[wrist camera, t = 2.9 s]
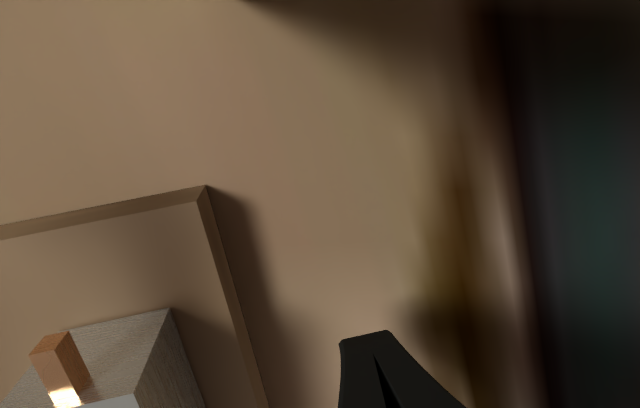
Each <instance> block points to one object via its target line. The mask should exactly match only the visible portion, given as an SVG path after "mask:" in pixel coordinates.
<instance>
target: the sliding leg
mask: <svg viewBox="0 0 640 408" xmlns="http://www.w3.org/2000/svg"><path fill="white" fill-rule="evenodd" d="M28 356H29V358H30V360H31V362H32V365H31V366H30V367H29V369H28V370H27V371H26V372H25V374H24V375H23V376H22V377H21V379H20V380H19V381H18V382H17V383H16V385H15V386H14V387H13V388H12V390H11V391H10V392H9V393H8V395H7V396H6V397H5V398H4V400H3V401H2V402H1V403H0V408H206V407H205V404H204V402H203V399H202V396H201V393H200V391H199V388H198V385H197V382H196V380H195V377H194V374H193V371H192V369H191V366H190V363H189V360H188V358H187V355H186V352H185V349H184V347H183V344H182V341H181V338H180V335H179V333H178V330H177V327H176V324H175V322H174V319H173V316H172V313H171V311H170V308H166V309H161V310H157V311H152V312H148V313H143V314H138V315H134V316H129V317H124V318H120V319H115V320H110V321H106V322H101V323H96V324H92V325H87V326H83V327H78V328H73V329H69V330H64V331H59V332H58V333H55V334H51V335H46V336H44V337H43V338H42V340H41V341H40V342H39V343H38V344H37V345H36V347H35V348H34V349H33V350H32V351H31V353H30V354H29V355H28Z"/></svg>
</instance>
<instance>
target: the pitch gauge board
mask: <svg viewBox="0 0 640 408" xmlns="http://www.w3.org/2000/svg"><path fill="white" fill-rule="evenodd" d="M166 308H170V311H171V313H172V316H173V319H174V322H175V324H176V327H177V330H178V333H179V335H180V338H181V341H182V344H183V347H184V349H185V352H186V355H187V358H188V360H189V363H190V366H191V369H192V371H193V374H194V377H195V380H196V382H197V385H198V388H199V391H200V393H201V396H202V399H203V402H204V404H205V407H206V408H269V405H268V401H267V398H266V394H265V391H264V387H263V384H262V380H261V377H260V373H259V370H258V366H257V363H256V360H255V356H254V353H253V349H252V346H251V342H250V339H249V335H248V332H247V328H246V325H245V321H244V318H243V314H242V311H241V307H240V304H239V300H238V297H237V293H236V290H235V286H234V283H233V279H232V276H231V272H230V269H229V266H228V262H227V259H226V255H225V252H224V248H223V245H222V241H221V238H220V234H219V231H218V227H217V224H216V220H215V217H214V213H213V210H212V206H211V203H210V199H209V196H208V192H207V189H206V185H202V186H197V187H192V188H187V189H182V190H177V191H172V192H167V193H162V194H157V195H152V196H147V197H142V198H137V199H132V200H127V201H121V202H116V203H111V204H106V205H101V206H96V207H91V208H86V209H81V210H76V211H71V212H66V213H61V214H56V215H51V216H46V217H41V218H36V219H31V220H26V221H21V222H15V223H10V224H5V225H0V403H1V402H2V401H3V400H4V398H5V397H6V396H7V395H8V393H9V392H10V391H11V390H12V388H13V387H14V386H15V385H16V383H17V382H18V381H19V380H20V379H21V377H22V376H23V375H24V374H25V372H26V371H27V370H28V369H29V367H30V366H31V365H32V362H31V360H30V358H29V356H28V355H29V354H30V353H31V351H32V350H33V349H34V348H35V347H36V345H37V344H38V343H39V342H40V341H41V340H42V338H43V337H44V336H46V335H51V334H55V333H58V332H59V331H64V330H69V329H73V328H78V327H83V326H87V325H92V324H96V323H101V322H106V321H110V320H115V319H120V318H124V317H129V316H134V315H138V314H143V313H148V312H152V311H157V310H161V309H166Z"/></svg>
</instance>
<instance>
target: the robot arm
mask: <svg viewBox="0 0 640 408" xmlns="http://www.w3.org/2000/svg"><path fill="white" fill-rule="evenodd" d="M339 348H340V355H341V381H340V391H339V401H338V408H466V407H465V406H464V405H463V404H461V403H460V402H459V401H458V400H457V399H456V398H454V397H453V396H452V395H451V394H450V393H449V392H448V391H447V390H446V389H444V388H443V387H442V386H441V385H440V384H439V383H438V382H437V381H436V380H435V379H434V378H433V377H432V376H431V375H430V374H429V373H428V372H427V371H426V370H425V369H424V368H423V367H422V366H421V365H420V364H419V363H418V362H417V361H416V360H415V359H414V358H413V357H412V356H411V355H410V354H409V353H408V352H407V351H406V350H405V348H404V347H403V346H402V345H401V344H400V343H399V342H398V340H397V339H396V338H395V337H394V336H393V334H392V333H391V332H390V331H388V330H383V331H378V332H374V333H370V334H365V335H361V336H356V337H352V338H347V339H343V340H342V341H341V342H340V343H339Z"/></svg>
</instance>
